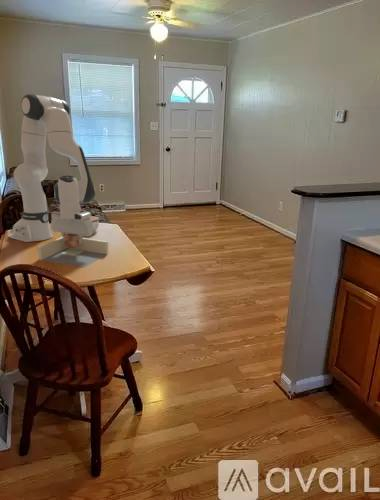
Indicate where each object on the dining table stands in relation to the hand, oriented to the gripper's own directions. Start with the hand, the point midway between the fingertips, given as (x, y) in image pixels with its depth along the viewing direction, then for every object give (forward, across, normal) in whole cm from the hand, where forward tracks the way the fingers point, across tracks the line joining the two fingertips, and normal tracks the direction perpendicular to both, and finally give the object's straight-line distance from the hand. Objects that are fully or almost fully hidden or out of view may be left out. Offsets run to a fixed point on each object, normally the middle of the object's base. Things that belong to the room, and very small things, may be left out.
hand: (73, 242), depth 175 cm
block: (+2, 0, 0) cm, 2 cm away
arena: (+6, +3, -4) cm, 8 cm away
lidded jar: (+6, -14, +35) cm, 39 cm away
